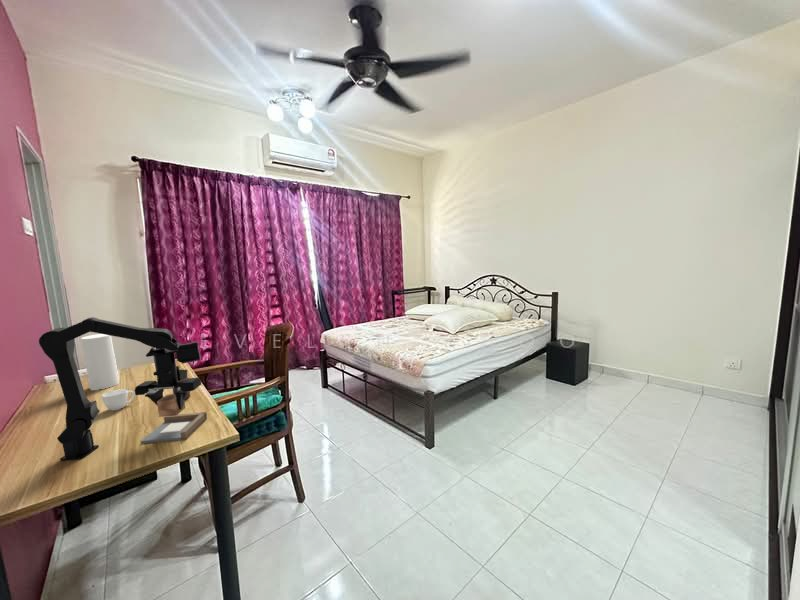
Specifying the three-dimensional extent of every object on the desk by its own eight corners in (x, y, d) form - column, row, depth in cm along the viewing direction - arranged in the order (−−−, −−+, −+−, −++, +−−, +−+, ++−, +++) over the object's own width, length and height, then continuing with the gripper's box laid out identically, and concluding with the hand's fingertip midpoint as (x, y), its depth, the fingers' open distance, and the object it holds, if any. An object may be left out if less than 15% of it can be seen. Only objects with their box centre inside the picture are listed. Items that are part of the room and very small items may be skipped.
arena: (186, 439, 108) (185, 432, 107) (141, 443, 107) (139, 436, 106) (207, 418, 122) (206, 412, 121) (167, 421, 120) (166, 415, 120)
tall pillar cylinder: (125, 381, 165) (116, 333, 161) (103, 390, 154) (93, 338, 151) (106, 381, 166) (98, 333, 163) (84, 390, 156) (74, 339, 152)
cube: (185, 408, 117) (183, 393, 116) (176, 415, 111) (174, 400, 110) (169, 409, 116) (166, 394, 115) (159, 416, 111) (156, 401, 110)
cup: (103, 409, 134) (100, 393, 133) (134, 400, 141) (131, 385, 140) (106, 414, 129) (103, 398, 128) (138, 405, 136) (135, 389, 135)
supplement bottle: (182, 402, 137) (178, 376, 136) (170, 401, 138) (166, 375, 137) (194, 395, 143) (190, 370, 141) (182, 395, 144) (178, 370, 143)
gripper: (206, 357, 120) (211, 397, 122) (152, 360, 119) (158, 401, 121) (189, 367, 109) (195, 411, 111) (130, 371, 108) (137, 416, 110)
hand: (172, 409), depth 114 cm, fingers closed on cube, 5 cm apart
